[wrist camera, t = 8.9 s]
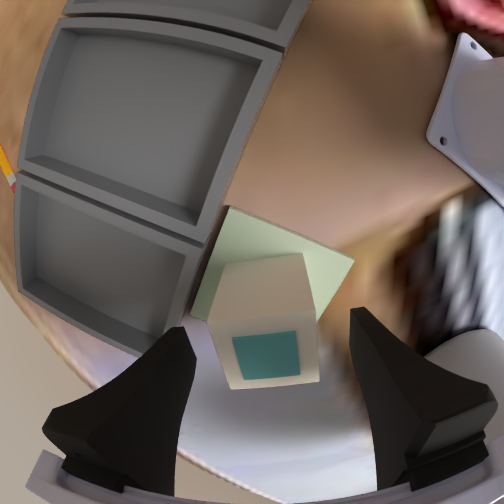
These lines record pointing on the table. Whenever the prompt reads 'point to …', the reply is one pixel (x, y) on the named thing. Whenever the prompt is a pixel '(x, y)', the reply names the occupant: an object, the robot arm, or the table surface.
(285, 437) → the table surface
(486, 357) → the cylinder vase
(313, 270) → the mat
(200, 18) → the tray
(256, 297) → the letter block
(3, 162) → the pencil
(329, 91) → the table surface
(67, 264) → the tray
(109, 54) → the tray
